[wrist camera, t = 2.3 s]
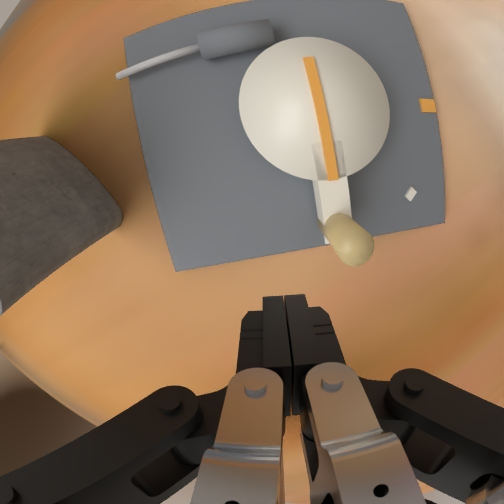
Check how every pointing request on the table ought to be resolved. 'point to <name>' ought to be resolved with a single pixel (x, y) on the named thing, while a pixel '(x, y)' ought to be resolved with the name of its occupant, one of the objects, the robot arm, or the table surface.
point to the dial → (318, 126)
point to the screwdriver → (216, 44)
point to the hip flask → (46, 213)
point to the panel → (246, 155)
